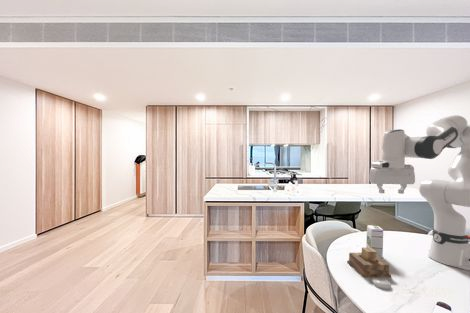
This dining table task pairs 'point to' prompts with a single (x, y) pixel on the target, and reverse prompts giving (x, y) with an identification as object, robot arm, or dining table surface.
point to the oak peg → (368, 254)
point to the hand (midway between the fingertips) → (391, 193)
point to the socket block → (369, 266)
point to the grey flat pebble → (381, 283)
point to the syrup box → (375, 239)
